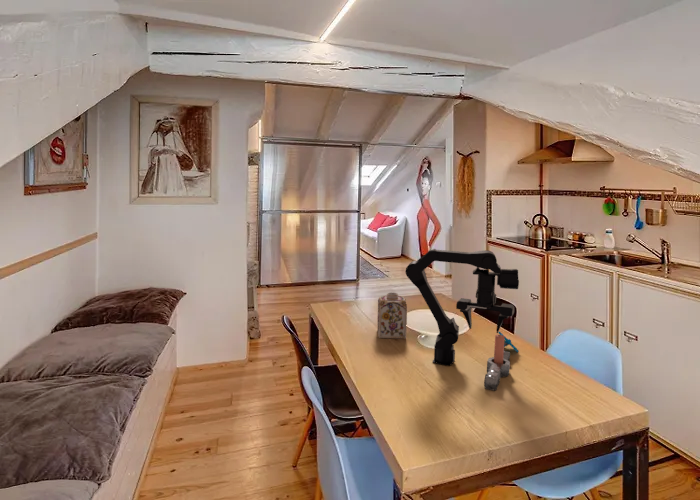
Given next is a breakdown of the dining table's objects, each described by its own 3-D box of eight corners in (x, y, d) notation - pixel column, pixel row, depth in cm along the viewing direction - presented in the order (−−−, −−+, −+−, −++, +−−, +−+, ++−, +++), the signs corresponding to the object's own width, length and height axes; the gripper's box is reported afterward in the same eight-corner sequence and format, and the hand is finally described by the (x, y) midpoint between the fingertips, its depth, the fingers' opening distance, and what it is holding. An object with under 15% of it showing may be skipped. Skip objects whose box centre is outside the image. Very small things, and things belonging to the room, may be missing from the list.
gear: (523, 352, 159) (503, 333, 160) (511, 363, 160) (492, 343, 161) (515, 346, 170) (497, 327, 171) (504, 355, 171) (486, 337, 172)
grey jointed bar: (478, 388, 134) (478, 375, 134) (494, 355, 160) (495, 345, 160) (501, 393, 131) (502, 380, 131) (514, 359, 157) (515, 348, 156)
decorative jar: (406, 339, 178) (407, 297, 175) (378, 338, 178) (379, 296, 175) (403, 329, 190) (404, 290, 187) (377, 329, 190) (377, 289, 187)
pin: (492, 373, 145) (494, 336, 143) (494, 369, 148) (496, 334, 146) (501, 375, 144) (503, 338, 142) (503, 371, 147) (505, 335, 145)
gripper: (517, 285, 150) (515, 328, 152) (464, 280, 159) (462, 320, 161) (513, 292, 140) (510, 337, 142) (456, 286, 149) (455, 328, 151)
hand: (483, 330), depth 149 cm, fingers open, 9 cm apart
